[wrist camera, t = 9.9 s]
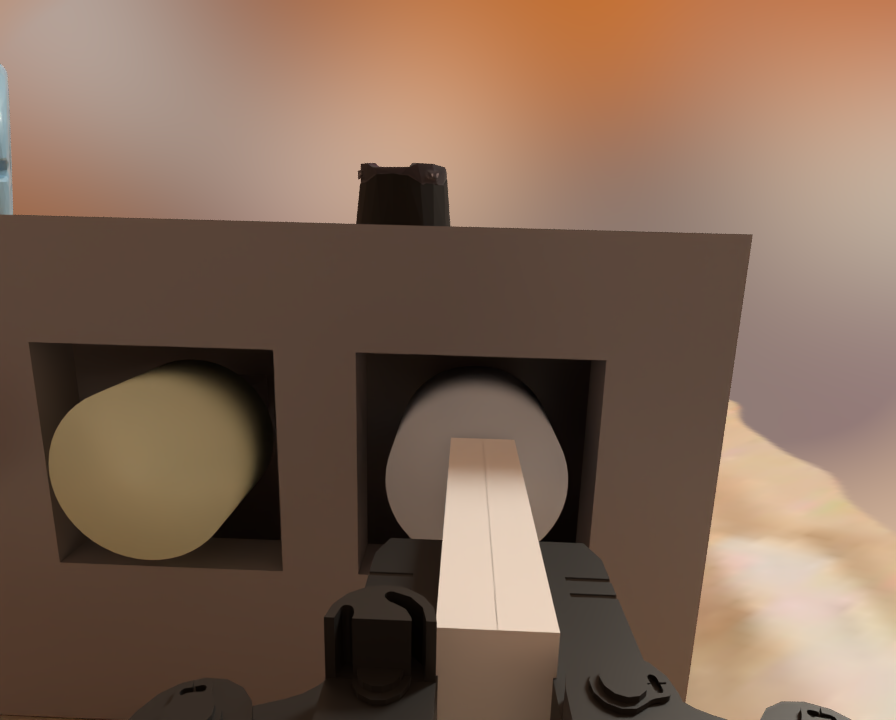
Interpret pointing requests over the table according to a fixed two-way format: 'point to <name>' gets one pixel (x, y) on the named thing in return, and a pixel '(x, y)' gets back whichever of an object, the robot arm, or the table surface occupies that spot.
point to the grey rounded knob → (471, 416)
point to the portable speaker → (403, 195)
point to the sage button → (162, 457)
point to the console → (345, 426)
